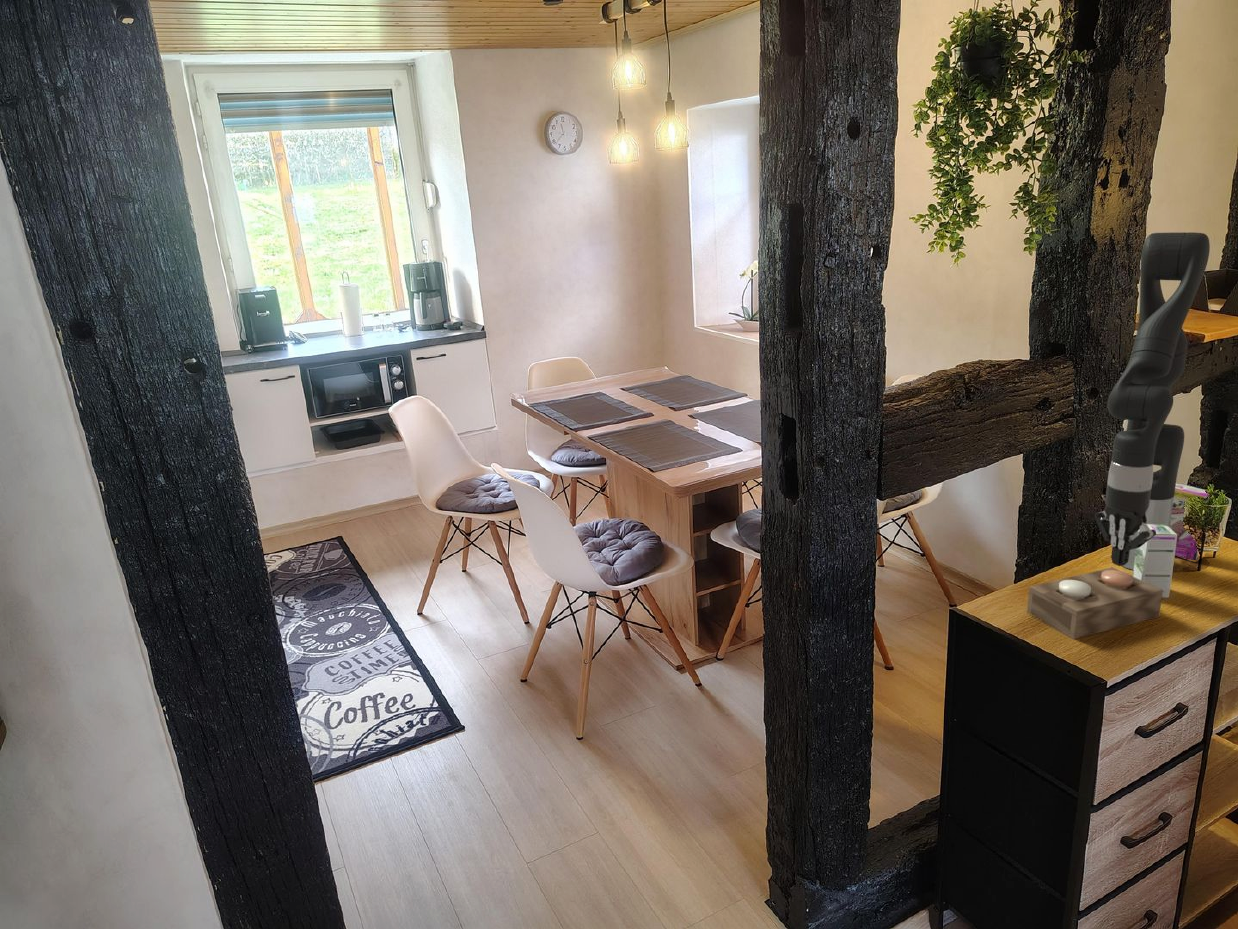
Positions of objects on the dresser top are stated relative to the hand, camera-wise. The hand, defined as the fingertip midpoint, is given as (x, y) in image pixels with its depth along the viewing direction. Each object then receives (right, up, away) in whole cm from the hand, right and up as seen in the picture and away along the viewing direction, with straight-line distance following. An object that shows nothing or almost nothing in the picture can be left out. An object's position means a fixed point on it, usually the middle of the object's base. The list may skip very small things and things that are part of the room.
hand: (1118, 564), depth 174 cm
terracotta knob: (0, -9, +3) cm, 10 cm away
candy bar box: (+29, -1, +27) cm, 40 cm away
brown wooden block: (-5, -11, +1) cm, 12 cm away
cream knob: (-10, -11, -1) cm, 15 cm away
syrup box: (+12, -7, +10) cm, 17 cm away
